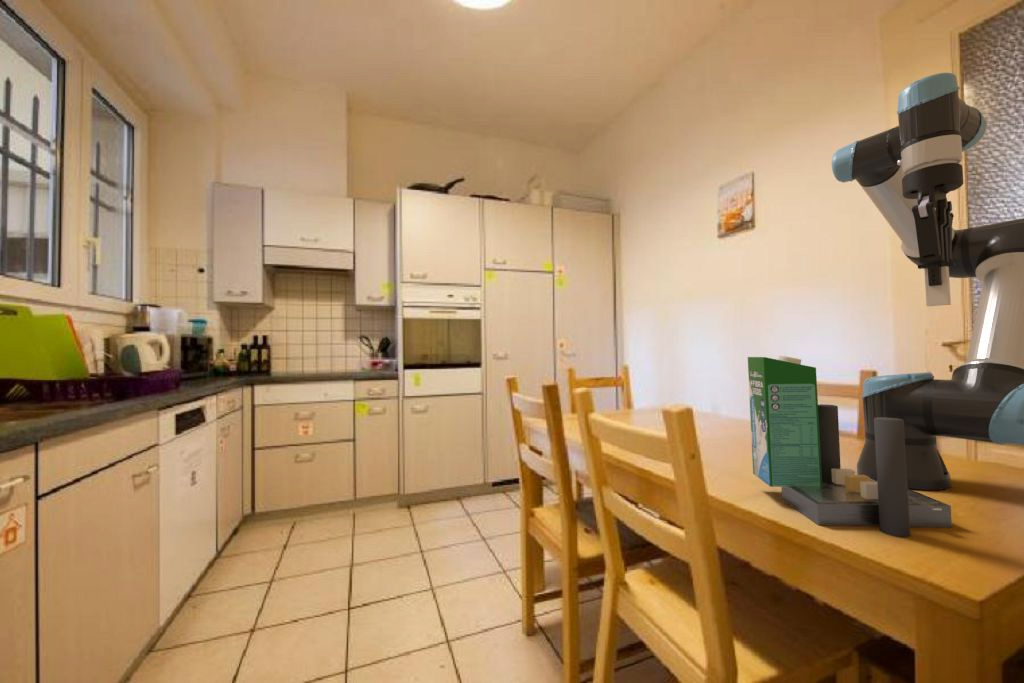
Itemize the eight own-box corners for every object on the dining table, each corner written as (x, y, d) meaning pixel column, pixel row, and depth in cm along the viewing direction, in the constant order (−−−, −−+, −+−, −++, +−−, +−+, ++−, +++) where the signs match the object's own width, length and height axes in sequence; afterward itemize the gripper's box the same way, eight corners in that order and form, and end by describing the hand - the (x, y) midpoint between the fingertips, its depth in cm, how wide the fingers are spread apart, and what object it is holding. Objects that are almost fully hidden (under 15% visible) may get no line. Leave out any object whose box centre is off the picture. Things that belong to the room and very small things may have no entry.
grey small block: (850, 482, 81) (849, 468, 81) (855, 484, 79) (854, 470, 79) (832, 481, 81) (831, 468, 81) (836, 484, 80) (835, 470, 80)
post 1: (834, 493, 86) (830, 404, 86) (846, 499, 82) (842, 407, 82) (815, 493, 86) (811, 404, 86) (826, 500, 83) (822, 407, 83)
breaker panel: (887, 497, 83) (886, 478, 83) (963, 532, 67) (962, 508, 67) (777, 496, 85) (776, 477, 85) (825, 530, 69) (824, 507, 69)
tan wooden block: (865, 488, 77) (864, 474, 77) (870, 491, 75) (869, 477, 75) (845, 488, 77) (844, 474, 77) (850, 491, 76) (850, 477, 76)
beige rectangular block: (881, 496, 73) (880, 481, 73) (887, 499, 71) (886, 484, 71) (860, 496, 73) (860, 481, 73) (866, 499, 72) (865, 484, 72)
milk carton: (822, 488, 80) (815, 355, 81) (770, 487, 81) (763, 356, 82) (800, 475, 89) (793, 355, 89) (752, 474, 90) (747, 356, 91)
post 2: (898, 527, 69) (892, 417, 70) (916, 537, 66) (910, 420, 66) (874, 527, 70) (868, 417, 70) (890, 537, 66) (884, 421, 67)
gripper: (914, 184, 81) (921, 308, 80) (889, 170, 73) (896, 306, 73) (971, 169, 74) (979, 304, 74) (950, 152, 67) (959, 301, 67)
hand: (938, 305), depth 73 cm, fingers closed
